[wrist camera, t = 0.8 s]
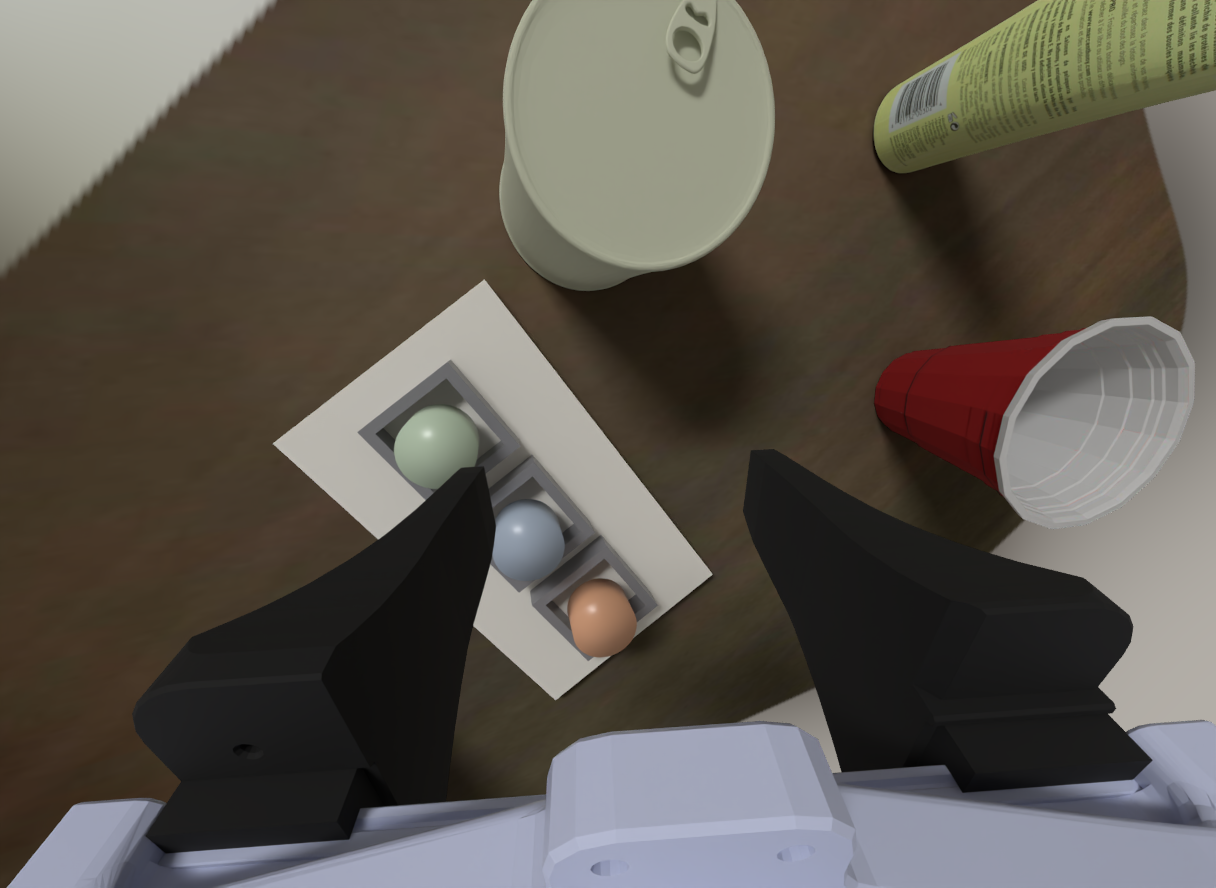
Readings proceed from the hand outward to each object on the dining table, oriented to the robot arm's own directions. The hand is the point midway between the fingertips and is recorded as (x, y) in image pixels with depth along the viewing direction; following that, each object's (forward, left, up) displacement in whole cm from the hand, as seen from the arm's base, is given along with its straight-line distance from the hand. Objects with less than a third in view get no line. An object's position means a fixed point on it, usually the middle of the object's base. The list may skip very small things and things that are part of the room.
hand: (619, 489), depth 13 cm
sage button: (-6, +2, -14) cm, 15 cm away
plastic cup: (+20, -16, -17) cm, 30 cm away
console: (-6, -5, -16) cm, 18 cm away
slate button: (-6, -5, -14) cm, 16 cm away
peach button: (-6, -12, -14) cm, 19 cm away
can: (+8, +7, -17) cm, 20 cm away
